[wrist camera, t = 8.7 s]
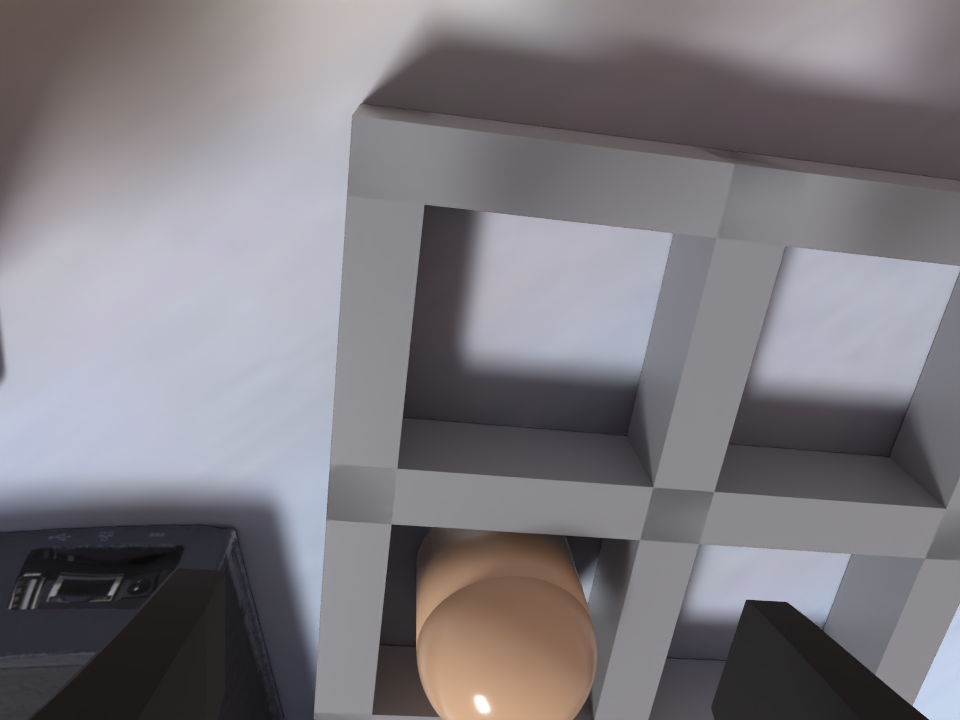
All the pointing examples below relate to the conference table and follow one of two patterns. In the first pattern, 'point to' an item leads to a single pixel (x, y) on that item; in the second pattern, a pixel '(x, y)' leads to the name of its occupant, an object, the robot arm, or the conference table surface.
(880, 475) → the egg crate
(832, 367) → the conference table surface
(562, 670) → the tan bulbous object
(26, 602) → the external hard drive
